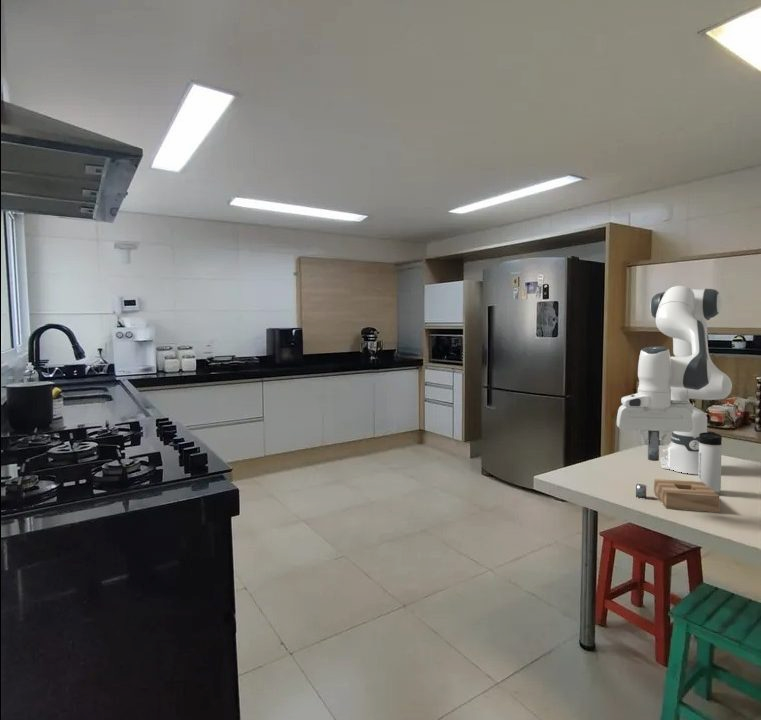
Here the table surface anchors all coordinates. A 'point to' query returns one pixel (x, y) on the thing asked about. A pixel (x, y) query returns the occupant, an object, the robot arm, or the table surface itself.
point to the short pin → (640, 491)
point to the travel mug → (710, 460)
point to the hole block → (686, 495)
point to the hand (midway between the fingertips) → (653, 444)
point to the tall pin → (653, 445)
